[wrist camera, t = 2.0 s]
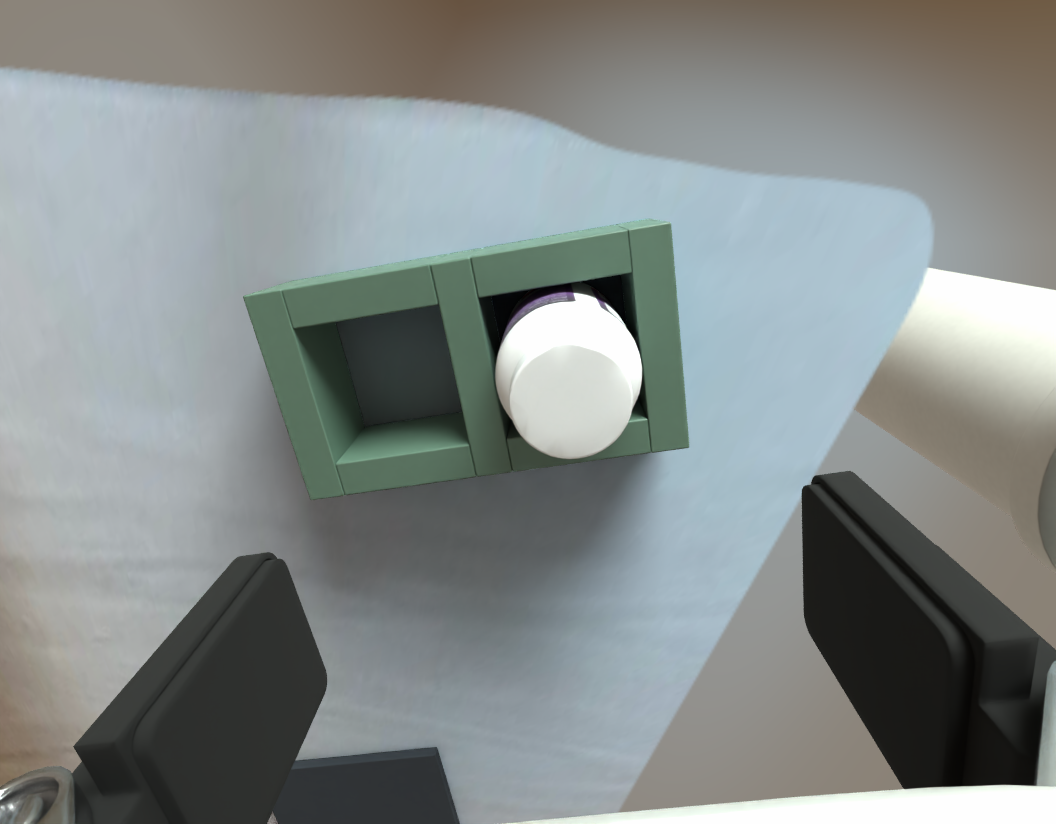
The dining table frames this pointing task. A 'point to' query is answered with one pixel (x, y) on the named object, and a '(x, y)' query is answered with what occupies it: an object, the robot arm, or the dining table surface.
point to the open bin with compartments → (462, 357)
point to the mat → (368, 790)
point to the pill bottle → (568, 370)
